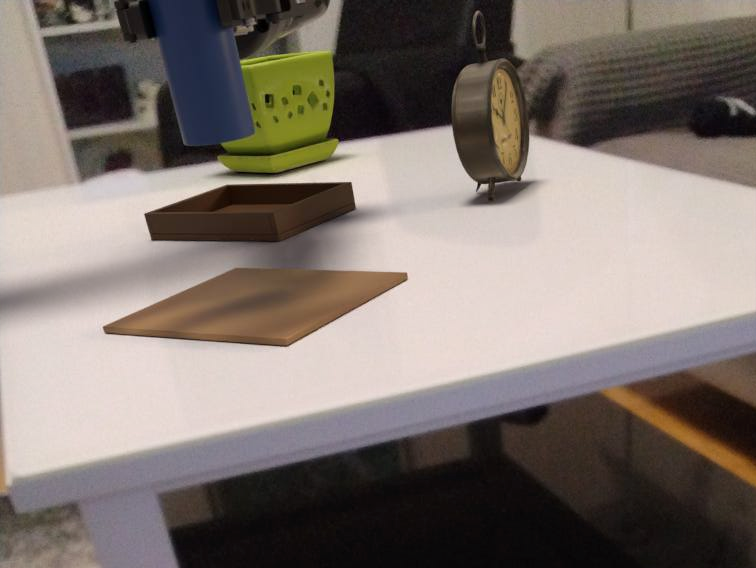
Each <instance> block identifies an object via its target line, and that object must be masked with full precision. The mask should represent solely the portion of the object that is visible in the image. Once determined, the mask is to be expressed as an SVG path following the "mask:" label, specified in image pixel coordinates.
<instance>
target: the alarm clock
mask: <svg viewBox="0 0 756 568" xmlns="http://www.w3.org/2000/svg"><path fill="white" fill-rule="evenodd" d="M478 16H479V18H480V22H481V23H480V24H481V28H482V43H479V44H478V40H477V35H476V32H477V31H476V29H477V27H476V26H477V19H478ZM486 31H487V30H486V23H485V18H484V15H483V13H482V12H481V10H476V11H475V12H474V14H473V19H472V37H473V43H474V46H475V51H476V52H477V63H471V64H468V65H465V67H464V68H462V70H461V71H460V72H459V73H458V75H457V78H456V80H455V83H454V86H453V90H452V95H451V96H452V97H451V107H450V108H451V109H450V110H451V111H450V112H451V114H450V115H451V128H452V136H453V140H454V145H455V149H456V152H457V155H458V159H459V161H460V163H461V166H462V167H463V169H464V171H465V172H466V174H467V175H468V176H469V178H470V179H471V180H472V181H474V182H475V183H477V185H476V189H475V193H477V192H478V191H479V189H480V188H481V186H482V185H488V194H489V195H488V196H487V200H488V202H493V201H494V200H495V196H494V194H495V191H496V184H500V183H507V182H516V181H517V182H521V181H522V176H523V174H524V171H525V169H526V167H527V162H528V157H529V152H530V151H529V150H530V120H529V113H528V112H529V111H528V106H527V105H528V104H527V98H526V94H525V90H524V87H523V83H522V81H521V78H520V75H519V73H518V71H517V69H516V67H515V66H514V65H513V64H512V63H511V62H510V61H509V60H508V59H506V58H499V59H494V60H488V57H487V54H486V51H487V47H486V40H487V39H486V38H487V35H486Z"/></svg>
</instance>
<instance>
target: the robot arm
mask: <svg viewBox="0 0 756 568" xmlns="http://www.w3.org/2000/svg"><path fill="white" fill-rule="evenodd" d="M216 1H217V5H218V10H219V14H220V19H221V23H222V26H223V28H224V29H228V28H233V31H234V36H235V40H236V45H237V49H238V54H239V59H240V61H243V60H246V59H248V58H250V57H251V56H253V55H255V54H258V53H260V52H262V51H264V50H265V49H267V48H268V47H269V46H271V45H272V44H273V43H275V42H277V41H279V40H280V39H282V38H284V37H286V36H288V35H290V34H292V33H294V32H295V31H297V30H299V29H301V28H303V27H306V26H307V25H308V24H311V23H312V22H314V21H316V20H319V19H320V18H321V17H322V16H324V15H325V13H327V11H328V9H329V6H330V3H331V0H216ZM113 4H114V9H115V12H116V16H117V20H118V23H119V27H120V32H121V35H122V38H123V42H129V44H135V43H138V41H146V40H147V41H148V40H151V41H157V37H156V33H155V29H154V25H153V22H152V18H151V14H150V10H149V6H148V2H147V0H116V1H115V0H114V1H113Z"/></svg>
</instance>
